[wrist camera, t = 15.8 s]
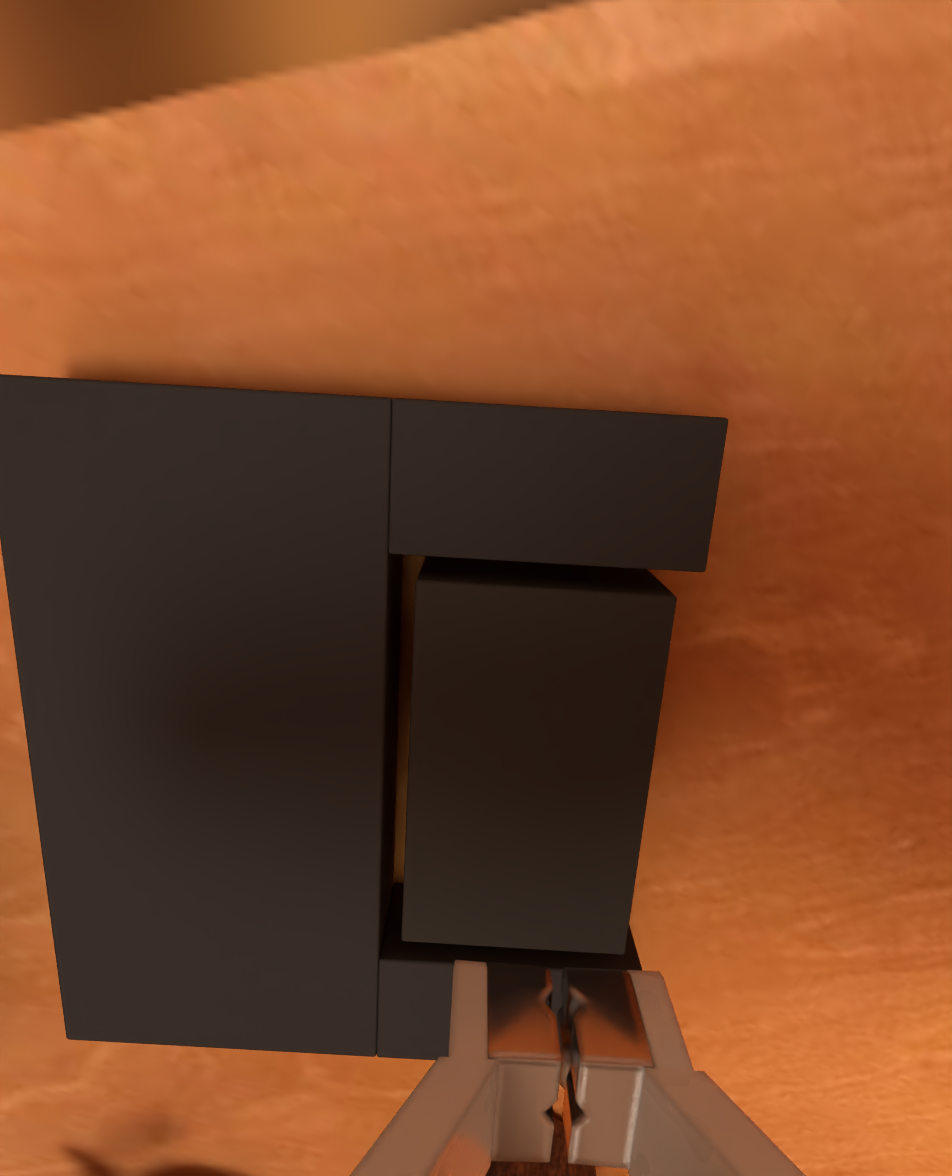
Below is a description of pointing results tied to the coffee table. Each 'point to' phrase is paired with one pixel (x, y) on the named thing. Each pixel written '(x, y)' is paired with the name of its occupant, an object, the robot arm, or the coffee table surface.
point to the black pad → (530, 751)
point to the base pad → (275, 678)
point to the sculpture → (555, 1172)
